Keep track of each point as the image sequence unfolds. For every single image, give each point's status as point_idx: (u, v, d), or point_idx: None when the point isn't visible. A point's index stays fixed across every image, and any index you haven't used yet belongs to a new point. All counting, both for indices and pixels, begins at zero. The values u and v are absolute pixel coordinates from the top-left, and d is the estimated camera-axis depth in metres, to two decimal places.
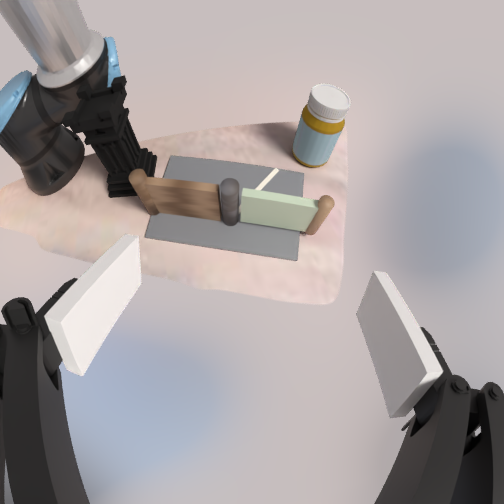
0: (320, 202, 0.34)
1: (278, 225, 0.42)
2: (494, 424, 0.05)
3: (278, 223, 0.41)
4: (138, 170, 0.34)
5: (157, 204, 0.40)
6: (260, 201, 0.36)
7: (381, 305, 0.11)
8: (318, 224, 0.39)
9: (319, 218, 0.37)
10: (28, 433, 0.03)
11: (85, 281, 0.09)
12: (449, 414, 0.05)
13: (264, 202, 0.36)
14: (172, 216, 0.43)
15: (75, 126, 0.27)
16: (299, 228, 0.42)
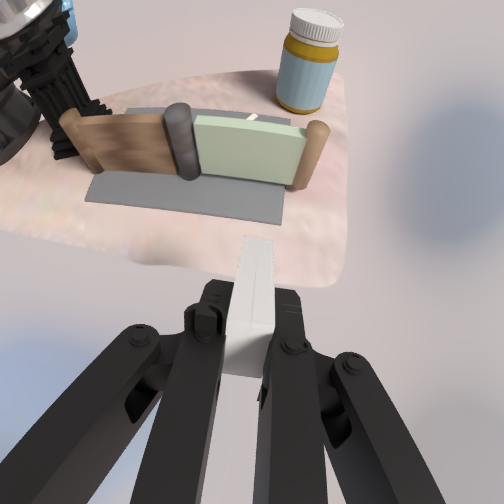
0: (309, 128, 0.22)
1: (254, 176, 0.29)
2: (364, 407, 0.06)
3: (253, 172, 0.29)
4: (71, 110, 0.22)
5: (98, 157, 0.28)
6: (220, 131, 0.23)
7: None
8: (309, 168, 0.26)
9: (309, 156, 0.24)
10: (183, 454, 0.04)
11: (245, 281, 0.10)
12: (286, 382, 0.07)
13: (227, 132, 0.23)
14: (118, 173, 0.31)
15: (8, 67, 0.15)
16: (282, 178, 0.29)
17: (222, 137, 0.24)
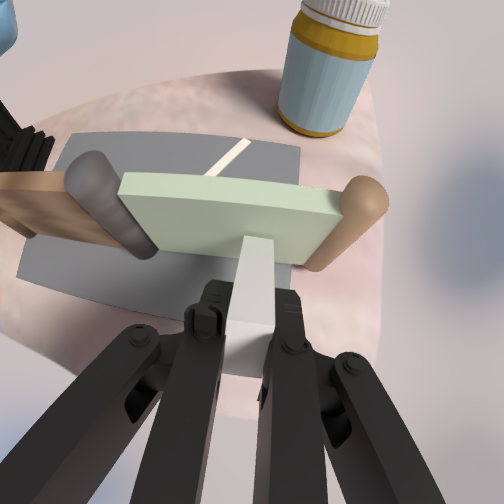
0: (350, 197, 0.11)
1: None
2: (364, 407, 0.06)
3: (240, 252, 0.18)
4: None
5: (20, 221, 0.17)
6: (170, 205, 0.12)
7: None
8: (337, 253, 0.15)
9: (342, 241, 0.13)
10: (183, 454, 0.04)
11: (244, 281, 0.10)
12: (286, 382, 0.07)
13: (182, 206, 0.12)
14: (52, 240, 0.20)
15: None
16: (289, 259, 0.18)
17: (176, 212, 0.13)
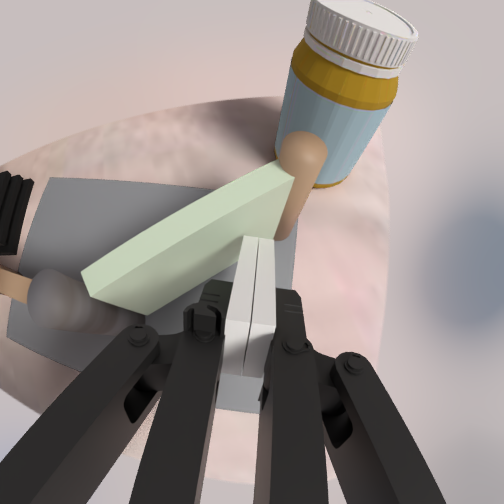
0: (292, 159, 0.11)
1: (220, 269, 0.18)
2: (365, 407, 0.06)
3: (217, 267, 0.17)
4: None
5: None
6: (143, 271, 0.11)
7: None
8: (299, 211, 0.16)
9: (301, 198, 0.14)
10: (182, 454, 0.04)
11: (244, 281, 0.10)
12: (287, 382, 0.07)
13: (155, 264, 0.11)
14: None
15: None
16: None
17: (150, 274, 0.12)
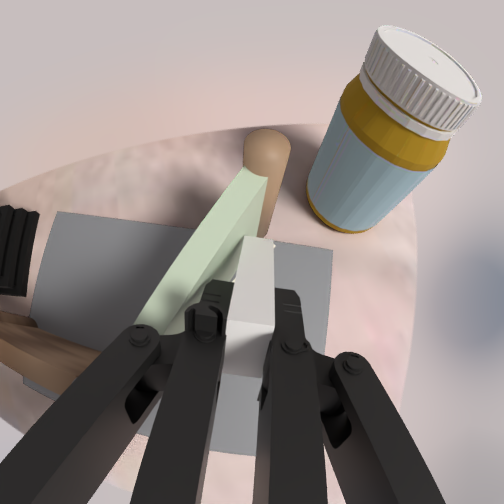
0: (262, 161, 0.11)
1: None
2: (363, 407, 0.06)
3: None
4: None
5: None
6: (170, 330, 0.10)
7: None
8: None
9: (276, 192, 0.14)
10: (183, 454, 0.04)
11: (245, 281, 0.10)
12: (286, 382, 0.07)
13: (178, 318, 0.11)
14: None
15: None
16: None
17: (176, 329, 0.11)
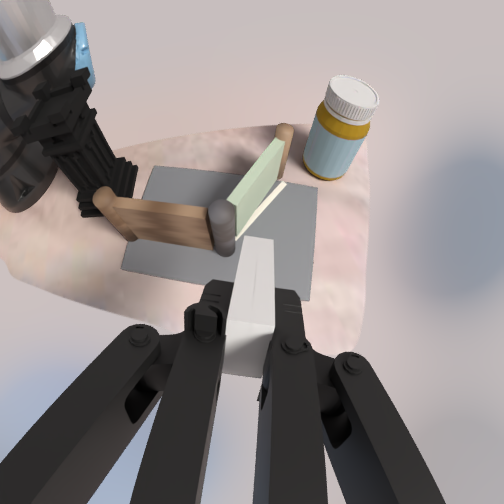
0: (283, 134, 0.29)
1: (261, 199, 0.35)
2: (364, 407, 0.06)
3: (261, 197, 0.34)
4: (104, 188, 0.25)
5: (133, 229, 0.32)
6: (249, 191, 0.28)
7: None
8: None
9: (288, 150, 0.31)
10: (183, 454, 0.04)
11: (245, 281, 0.10)
12: (286, 382, 0.07)
13: (252, 187, 0.28)
14: (153, 243, 0.34)
15: (26, 134, 0.19)
16: (273, 181, 0.36)
17: (249, 194, 0.29)
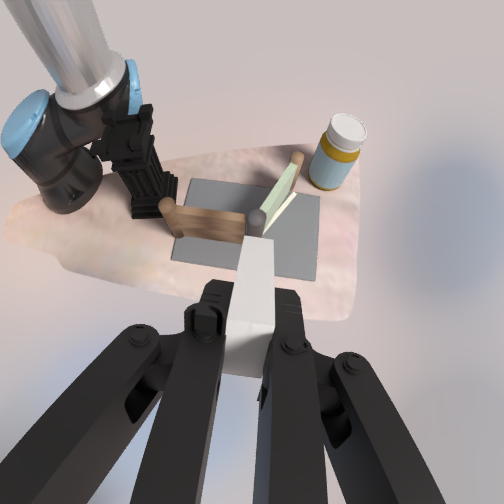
0: (296, 160, 0.41)
1: (278, 206, 0.47)
2: (364, 407, 0.06)
3: (279, 205, 0.46)
4: (167, 199, 0.37)
5: (183, 229, 0.43)
6: (274, 202, 0.40)
7: None
8: None
9: (299, 170, 0.43)
10: (183, 454, 0.04)
11: (245, 281, 0.10)
12: (286, 382, 0.07)
13: (276, 200, 0.40)
14: (197, 239, 0.46)
15: (103, 155, 0.30)
16: (287, 192, 0.48)
17: (274, 204, 0.41)
